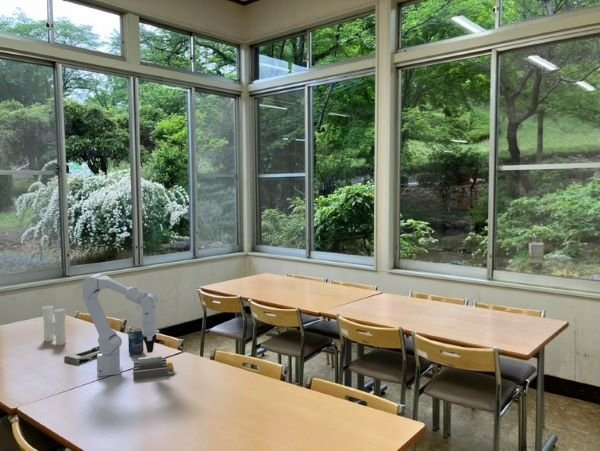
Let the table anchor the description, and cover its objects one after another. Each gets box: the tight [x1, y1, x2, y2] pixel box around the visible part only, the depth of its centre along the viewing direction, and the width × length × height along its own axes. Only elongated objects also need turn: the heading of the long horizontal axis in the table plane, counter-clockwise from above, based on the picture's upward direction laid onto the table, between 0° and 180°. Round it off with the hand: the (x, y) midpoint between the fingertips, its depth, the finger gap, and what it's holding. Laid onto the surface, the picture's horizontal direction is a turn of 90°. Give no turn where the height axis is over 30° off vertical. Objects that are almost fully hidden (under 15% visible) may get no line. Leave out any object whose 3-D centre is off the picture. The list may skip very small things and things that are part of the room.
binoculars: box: [41, 305, 67, 346], centre depth 253 cm, size 17×5×18 cm, turn 56°
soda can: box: [127, 328, 145, 357], centre depth 233 cm, size 7×7×12 cm
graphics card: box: [63, 345, 121, 366], centre depth 231 cm, size 10×3×25 cm
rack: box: [132, 358, 175, 381], centre depth 209 cm, size 16×12×4 cm
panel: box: [137, 355, 163, 367], centre depth 208 cm, size 10×2×6 cm, turn 108°
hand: (150, 352), depth 208 cm, fingers closed
